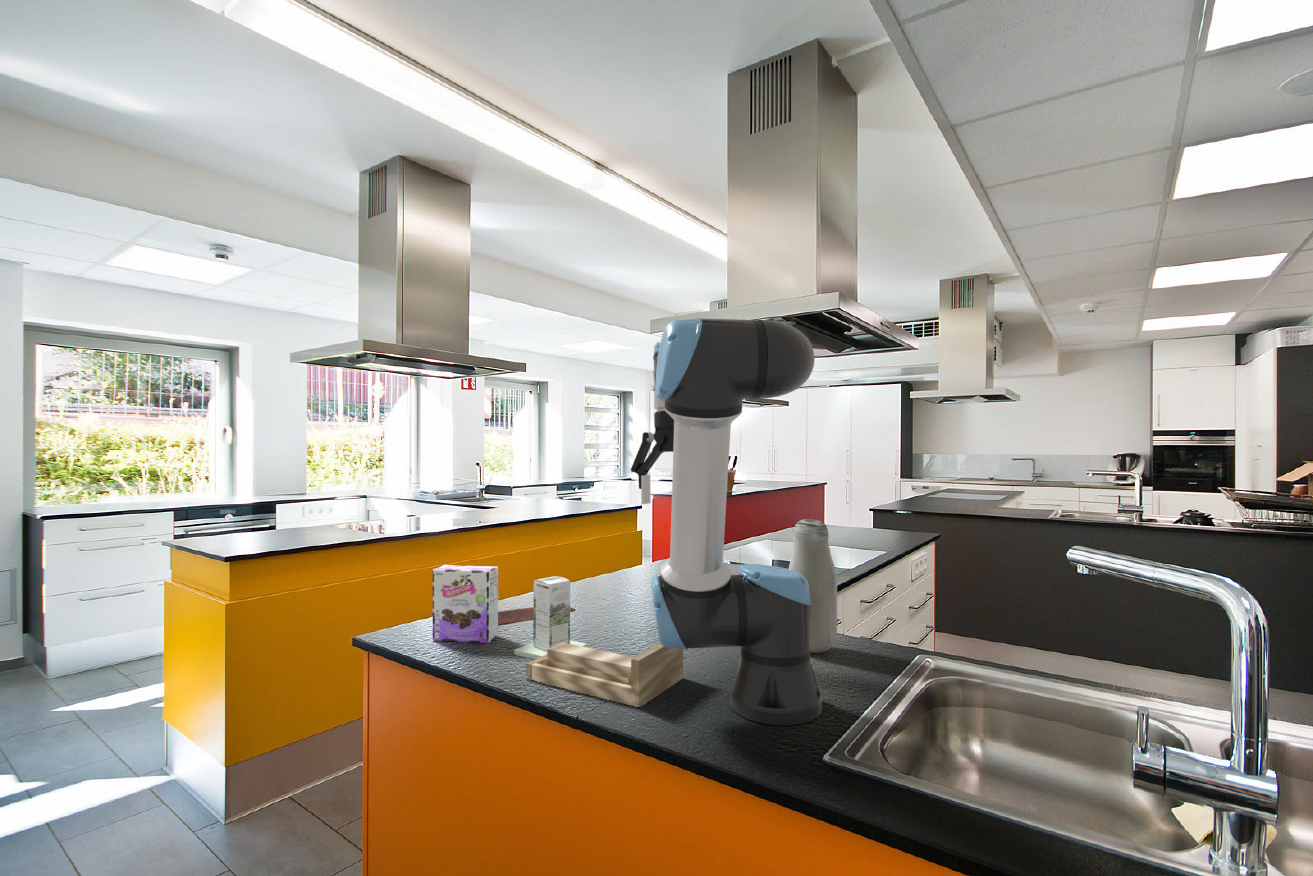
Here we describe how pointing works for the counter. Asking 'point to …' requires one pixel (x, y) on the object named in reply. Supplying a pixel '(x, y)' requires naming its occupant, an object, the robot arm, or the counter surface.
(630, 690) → the birch rack
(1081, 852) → the counter surface
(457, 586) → the candy box
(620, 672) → the offcut stack
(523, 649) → the sage mat
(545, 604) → the syrup box
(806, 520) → the glass bottle
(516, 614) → the wooden tablet
